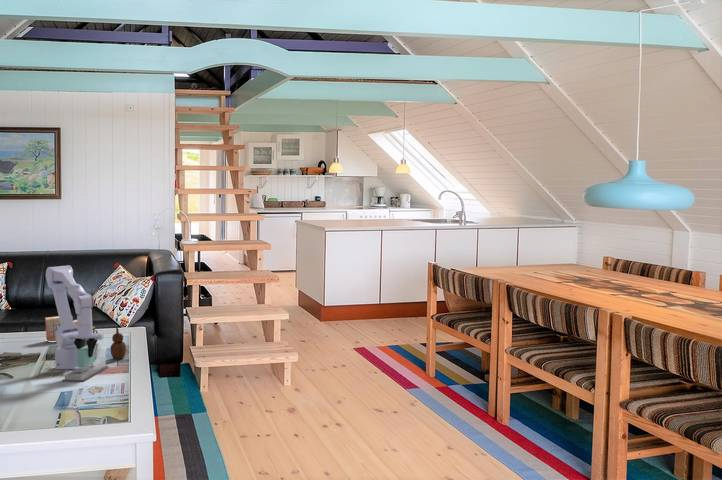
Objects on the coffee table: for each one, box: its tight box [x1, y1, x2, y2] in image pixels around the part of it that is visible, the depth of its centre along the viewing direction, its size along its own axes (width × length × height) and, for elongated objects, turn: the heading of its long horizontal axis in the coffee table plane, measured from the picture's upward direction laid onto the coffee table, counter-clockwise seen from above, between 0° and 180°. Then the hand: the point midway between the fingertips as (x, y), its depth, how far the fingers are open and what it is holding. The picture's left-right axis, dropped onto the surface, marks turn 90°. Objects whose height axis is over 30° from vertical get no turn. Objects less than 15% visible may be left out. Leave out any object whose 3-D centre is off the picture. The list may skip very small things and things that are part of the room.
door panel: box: [77, 346, 96, 367], centre depth 299 cm, size 3×9×7 cm, turn 174°
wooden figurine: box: [110, 325, 127, 360], centre depth 325 cm, size 7×6×15 cm
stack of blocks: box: [44, 315, 77, 341], centre depth 368 cm, size 21×6×12 cm, turn 120°
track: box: [62, 361, 109, 383], centre depth 299 cm, size 9×22×3 cm, turn 175°
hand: (86, 356), depth 299 cm, fingers closed on door panel, 3 cm apart
